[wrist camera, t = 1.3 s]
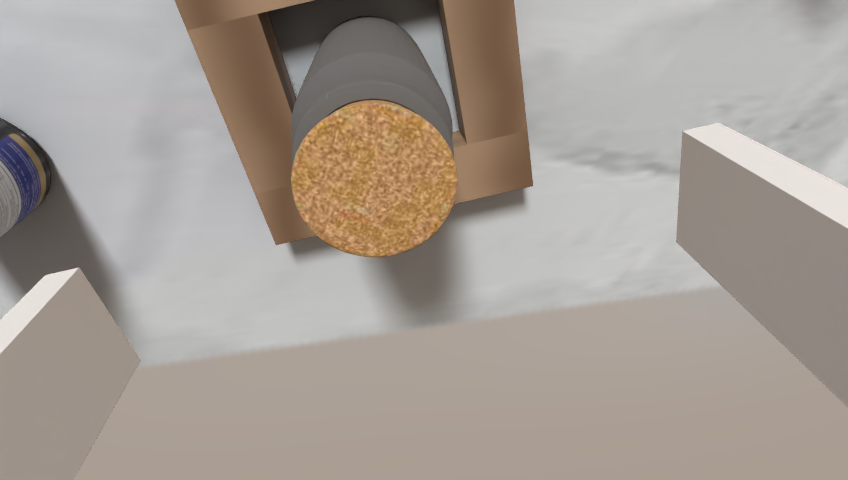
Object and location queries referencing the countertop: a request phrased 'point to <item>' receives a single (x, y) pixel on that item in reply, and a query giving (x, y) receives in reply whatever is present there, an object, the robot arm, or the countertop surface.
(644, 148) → the countertop surface
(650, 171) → the countertop surface
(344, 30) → the bottle
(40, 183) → the pill bottle
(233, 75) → the brown wooden square frame
